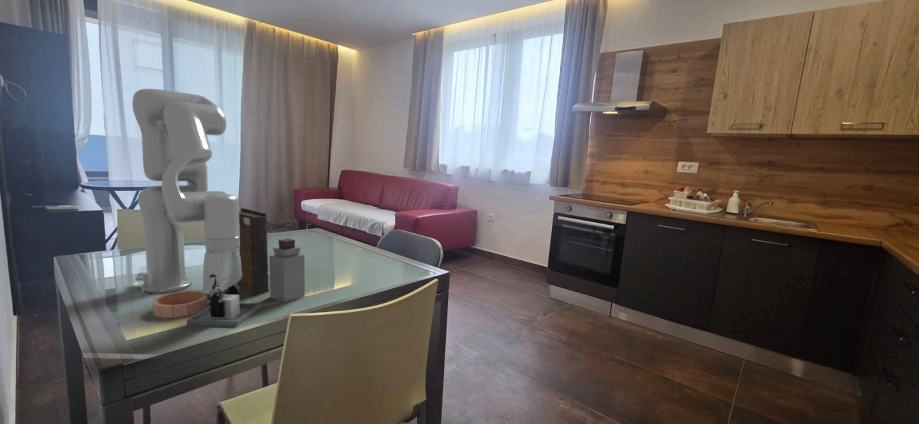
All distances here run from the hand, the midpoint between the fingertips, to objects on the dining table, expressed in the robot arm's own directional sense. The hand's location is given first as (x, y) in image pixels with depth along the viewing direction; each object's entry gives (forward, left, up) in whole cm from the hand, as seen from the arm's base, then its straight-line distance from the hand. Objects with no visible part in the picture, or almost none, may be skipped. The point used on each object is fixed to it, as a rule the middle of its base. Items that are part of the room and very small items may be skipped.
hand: (225, 310), depth 102 cm
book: (-5, +22, -2) cm, 23 cm away
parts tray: (0, 0, -2) cm, 2 cm away
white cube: (0, 0, -1) cm, 1 cm away
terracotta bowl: (-14, +4, -2) cm, 14 cm away
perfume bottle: (+10, +15, -2) cm, 18 cm away
